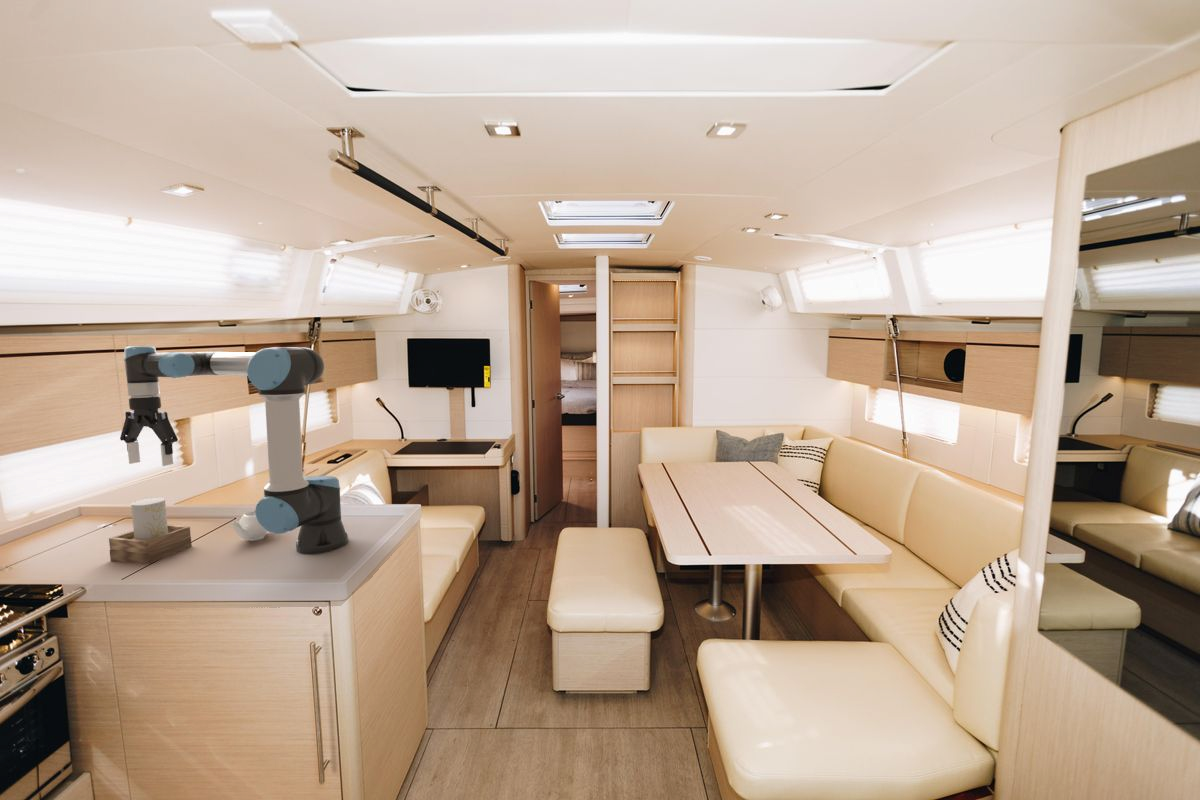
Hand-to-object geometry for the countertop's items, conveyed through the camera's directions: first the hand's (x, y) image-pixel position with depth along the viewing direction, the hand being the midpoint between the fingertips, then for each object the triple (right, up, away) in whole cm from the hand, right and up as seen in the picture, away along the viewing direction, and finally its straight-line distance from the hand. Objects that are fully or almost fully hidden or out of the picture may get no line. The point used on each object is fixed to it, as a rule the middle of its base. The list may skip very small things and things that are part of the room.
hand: (151, 463), depth 168 cm
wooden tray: (-1, -25, +2) cm, 25 cm away
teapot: (+24, -28, +14) cm, 39 cm away
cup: (-1, -24, +1) cm, 24 cm away
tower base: (-1, -29, +2) cm, 29 cm away
